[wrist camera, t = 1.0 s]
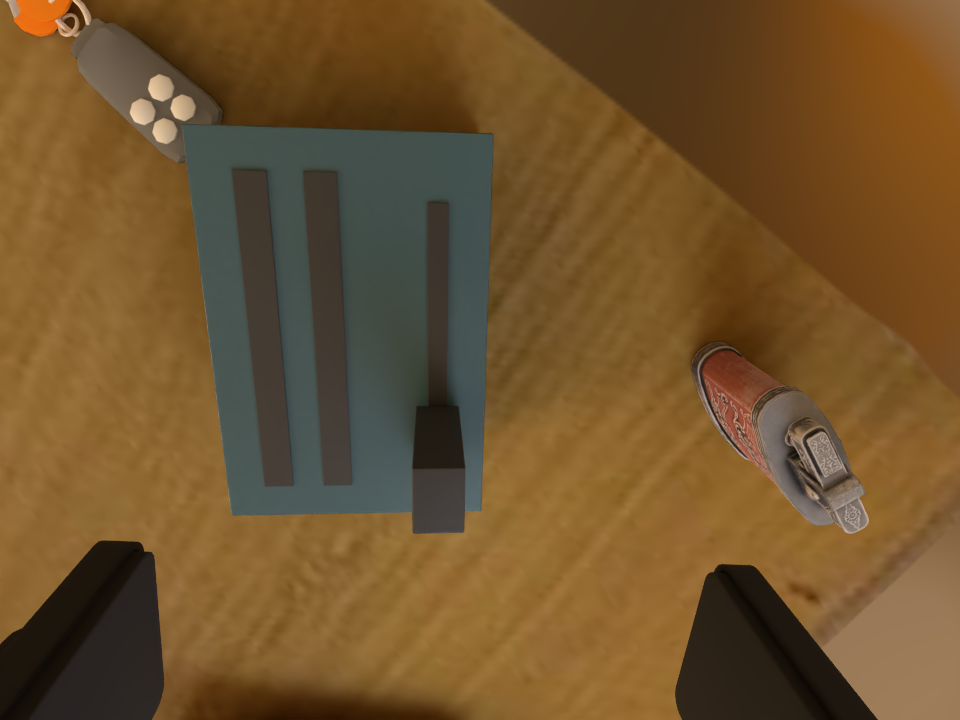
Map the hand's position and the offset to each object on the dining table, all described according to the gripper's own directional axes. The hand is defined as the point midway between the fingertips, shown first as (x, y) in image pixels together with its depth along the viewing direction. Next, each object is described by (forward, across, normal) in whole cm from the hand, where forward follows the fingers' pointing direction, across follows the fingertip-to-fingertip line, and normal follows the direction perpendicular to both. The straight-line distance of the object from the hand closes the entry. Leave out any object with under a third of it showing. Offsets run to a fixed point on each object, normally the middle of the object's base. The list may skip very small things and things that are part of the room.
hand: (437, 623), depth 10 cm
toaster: (+23, +3, 0) cm, 23 cm away
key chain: (+23, +16, -11) cm, 30 cm away
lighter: (+23, -18, +4) cm, 30 cm away
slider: (+15, 0, +4) cm, 15 cm away
